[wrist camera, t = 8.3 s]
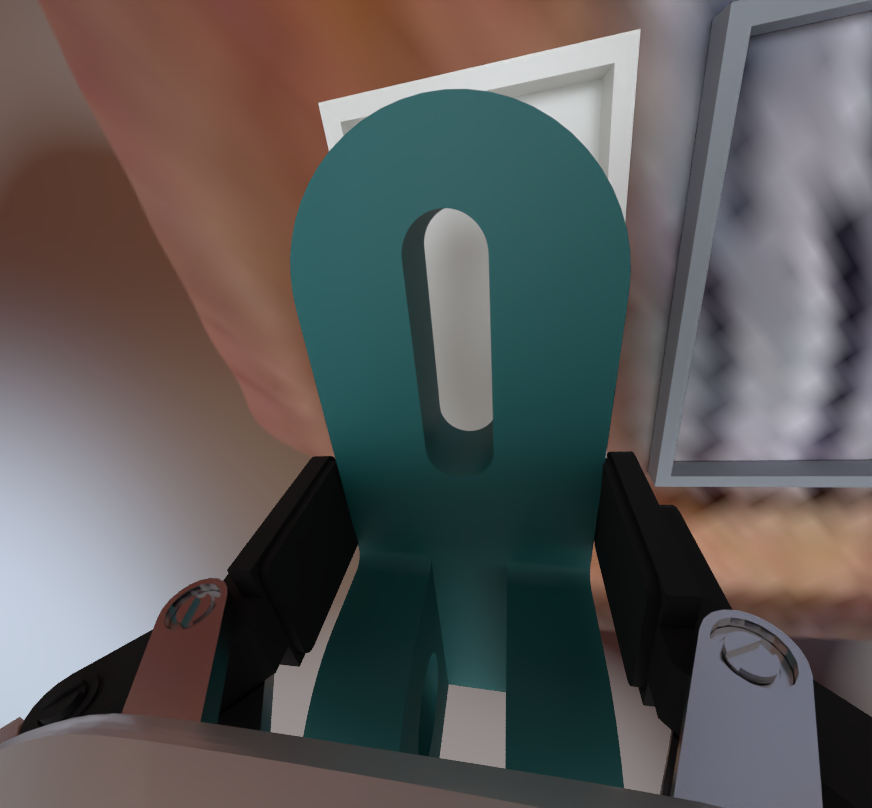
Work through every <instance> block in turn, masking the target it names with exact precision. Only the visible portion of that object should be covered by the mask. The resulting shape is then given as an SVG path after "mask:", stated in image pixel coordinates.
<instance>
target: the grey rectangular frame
mask: <svg viewBox="0 0 872 808" xmlns="http://www.w3.org/2000/svg"><path fill="white" fill-rule="evenodd" d="M870 10H872V0H741V1H736V2H732V3H730V4H729V5H728V6H727V7H726V8H725V9H724V10H722V11H721V12H720V13H719V14H718V15H717V16H716V17H714V18H713V21H712V28H711V35H710V42H709V48H708V55H707V62H706V69H705V76H704V83H703V90H702V97H701V104H700V111H699V118H698V125H697V132H696V139H695V146H694V153H693V160H692V167H691V174H690V181H689V188H688V195H687V202H686V209H685V215H684V222H683V229H682V236H681V243H680V250H679V257H678V264H677V271H676V278H675V285H674V292H673V299H672V306H671V313H670V320H669V327H668V334H667V341H666V348H665V355H664V362H663V369H662V376H661V382H660V389H659V396H658V403H657V410H656V417H655V424H654V431H653V438H652V445H651V452H650V459H649V466H648V473H649V475H650V477H651V479H652V481H653V483H654V485H655V487H872V460H820V461H705V462H673V461H674V456H675V450H676V445H677V439H678V433H679V428H680V422H681V417H682V411H683V406H684V400H685V394H686V389H687V383H688V378H689V372H690V367H691V361H692V355H693V350H694V344H695V339H696V333H697V328H698V322H699V316H700V311H701V305H702V300H703V294H704V289H705V283H706V277H707V272H708V266H709V261H710V255H711V249H712V244H713V238H714V233H715V227H716V222H717V216H718V210H719V205H720V199H721V194H722V188H723V183H724V177H725V171H726V166H727V160H728V155H729V149H730V144H731V138H732V132H733V127H734V121H735V116H736V110H737V105H738V99H739V93H740V88H741V82H742V77H743V71H744V66H745V60H746V54H747V49H748V43H749V38H750V36H754V35H759V34H763V33H768V32H773V31H777V30H782V29H787V28H791V27H796V26H801V25H805V24H810V23H815V22H819V21H824V20H829V19H833V18H838V17H842V16H847V15H852V14H856V13H861V12H866V11H870Z"/></svg>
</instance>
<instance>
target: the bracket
mask: <svg viewBox="0 0 872 808" xmlns="http://www.w3.org/2000/svg"><path fill="white" fill-rule="evenodd" d="M444 208H450V209H455V210H458V211H461V212H463V213H465V214H467V215H468V216H469V217H471V218H472V219H473V220H474V221H475V222H476V223H477V224H478V225H479V227H480V228H481V230H482V232H483V233H484V236H485V238H486V241H487V245H488V253H489V289H490V328H491V366H492V405H493V420H492V421H491V422H490V423H489V424H488V425H487V426H486V427H484V428H482V429H479V430H474V431H465V430H461V429H458V428H455V427H454V426H452V425H451V424H449V423H448V422H447V421H446V420H445V418H444V417H443V415H442V413H441V410H440V401H439V391H438V381H437V371H436V361H435V351H434V341H433V330H432V320H431V310H430V300H429V290H428V280H427V270H426V260H425V249H424V237H425V232H426V229H427V227H428V225H429V223H430V221H431V220H432V218H433V217H434V216H435V215H436V214H437V213H438V212H439V211H441V210H442V209H444ZM290 264H291V282H292V291H293V296H294V301H295V306H296V310H297V314H298V318H299V322H300V326H301V329H302V333H303V337H304V341H305V345H306V348H307V352H308V356H309V360H310V364H311V367H312V371H313V375H314V379H315V383H316V386H317V390H318V394H319V398H320V402H321V405H322V409H323V413H324V417H325V421H326V424H327V428H328V432H329V436H330V440H331V443H332V447H333V451H334V455H335V459H336V462H337V466H338V470H339V474H340V478H341V481H342V485H343V489H344V493H345V497H346V501H347V504H348V508H349V512H350V516H351V520H352V523H353V527H354V530H355V533H356V536H357V539H358V542H359V543H358V546H359V550H360V560H359V566H358V569H357V572H356V574H355V576H354V579H353V581H352V584H351V586H350V589H349V591H348V594H347V596H346V599H345V601H344V604H343V606H342V608H341V611H340V613H339V616H338V618H337V620H336V623H335V625H334V628H333V630H332V633H331V636H330V638H329V641H328V643H327V646H326V650H325V652H324V655H323V658H322V662H321V665H320V668H319V671H318V675H317V678H316V682H315V686H314V690H313V693H312V697H311V702H310V706H309V711H308V715H307V720H306V725H305V730H304V736H303V737H305V738H312V739H318V740H325V741H331V742H338V743H344V744H351V745H357V746H364V747H370V748H377V749H383V750H390V751H396V752H402V753H409V754H415V755H422V756H428V757H435V758H439V756H440V748H441V741H442V733H443V725H444V717H445V708H446V701H447V692H448V685H449V684H452V685H459V686H465V687H473V688H480V689H487V690H494V691H501V692H506V769H510V770H516V771H522V772H529V773H535V774H541V775H547V776H554V777H560V778H566V779H572V780H578V781H585V782H591V783H597V784H603V785H608V786H614V787H619V788H624V784H623V775H622V765H621V757H620V748H619V740H618V734H617V726H616V718H615V712H614V705H613V699H612V693H611V687H610V681H609V676H608V670H607V665H606V660H605V656H604V650H603V645H602V641H601V636H600V631H599V626H598V621H597V616H596V611H595V606H594V601H593V596H592V591H591V585H590V564H591V557H592V550H593V543H594V536H595V529H596V522H597V515H598V508H599V501H600V494H601V484H602V471H603V463H605V458H606V451H607V444H608V437H609V430H610V423H611V416H612V409H613V402H614V395H615V388H616V381H617V373H618V366H619V359H620V352H621V345H622V338H623V331H624V324H625V317H626V310H627V303H628V296H629V286H630V274H631V265H630V247H629V240H628V233H627V228H626V224H625V221H624V217H623V213H622V210H621V207H620V204H619V202H618V199H617V197H616V194H615V192H614V189H613V187H612V185H611V184H610V182H609V180H608V178H607V176H606V175H605V173H604V171H603V169H602V168H601V166H600V165H599V164H598V162H597V161H596V160H595V158H594V157H593V156H592V154H591V153H590V151H589V150H588V149H587V148H586V147H585V146H584V145H583V144H582V143H581V142H580V141H579V140H578V139H577V138H576V137H575V135H574V134H573V133H572V132H570V131H569V130H568V129H567V128H565V127H564V126H563V125H561V124H560V123H559V122H558V121H556V120H555V119H554V118H552V117H551V116H549V115H547V114H545V113H544V112H542V111H540V110H539V109H537V108H535V107H534V106H531V105H529V104H527V103H524V102H522V101H519V100H517V99H515V98H512V97H508V96H505V95H501V94H497V93H493V92H489V91H481V90H473V89H443V90H436V91H430V92H424V93H420V94H416V95H413V96H410V97H406V98H403V99H400V100H398V101H396V102H394V103H391V104H389V105H387V106H385V107H383V108H380V109H379V110H377V111H376V112H374V113H372V114H371V115H369V116H368V117H366V118H365V119H363V120H362V121H360V122H359V123H358V124H357V125H355V126H354V127H353V128H352V129H351V130H349V131H348V132H347V133H346V134H345V135H344V136H343V137H342V138H341V139H340V140H339V141H338V142H337V143H336V144H335V145H334V146H333V148H332V149H331V150H330V151H329V153H328V154H327V155H326V157H325V158H324V159H323V161H322V162H321V163H320V165H319V166H318V168H317V170H316V172H315V173H314V175H313V177H312V179H311V180H310V182H309V184H308V186H307V189H306V191H305V193H304V196H303V198H302V200H301V203H300V207H299V210H298V213H297V217H296V220H295V225H294V230H293V236H292V244H291V256H290Z"/></svg>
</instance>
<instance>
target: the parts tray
mask: <svg viewBox="0 0 872 808" xmlns="http://www.w3.org/2000/svg"><path fill="white" fill-rule="evenodd" d="M640 30H641V29H637V30H633V31H629V32H624V33H620V34H616V35H611V36H607V37H603V38H598V39H594V40H590V41H585V42H581V43H577V44H572V45H568V46H564V47H559V48H555V49H550V50H546V51H542V52H537V53H533V54H529V55H524V56H520V57H516V58H511V59H507V60H503V61H498V62H494V63H490V64H485V65H481V66H477V67H472V68H468V69H464V70H459V71H455V72H451V73H446V74H442V75H438V76H433V77H429V78H425V79H420V80H416V81H412V82H407V83H403V84H398V85H394V86H390V87H385V88H381V89H377V90H372V91H368V92H364V93H359V94H355V95H351V96H346V97H342V98H338V99H333V100H329V101H325V102H320V103H318V104H319V108H320V113H321V117H322V122H323V126H324V130H325V135H326V139H327V144H328V148H329V151H330V150H331V149H332V148H333V146H334V145H335V144H336V143H337V142H338V141H339V140H340V139H341V138H342V137H343V136H344V135H345V134H346V133H347V132H348V131H349V130H351V129H352V128H353V127H354V126H355V125H357V124H358V123H359V122H360V121H362V120H363V119H365V118H366V117H368V116H369V115H371V114H372V113H374V112H376V111H377V110H379V109H380V108H383V107H385V106H387V105H389V104H391V103H394V102H396V101H398V100H400V99H403V98H406V97H410V96H413V95H416V94H420V93H424V92H430V91H436V90H443V89H473V90H481V91H489V92H493V93H497V94H501V95H505V96H508V97H512V98H515V99H517V100H519V101H522V102H524V103H527V104H529V105H531V106H534V107H535V108H537V109H539V110H540V111H542V112H544V113H545V114H547V115H549V116H551V117H552V118H554V119H555V120H556V121H558V122H559V123H560V124H561V125H563V126H564V127H565V128H567V129H568V130H569V131H570V132H572V133H573V134H574V135H575V137H576V138H577V139H578V140H579V141H580V142H581V143H582V144H583V145H584V146H585V147H586V148H587V149H588V150H589V151H590V153H591V154H592V156H593V157H594V158H595V160H596V161H597V162H598V164H599V165H600V166H601V168H602V169H603V171H604V173H605V175H606V176H607V178H608V180H609V182H610V184H611V185H612V187H613V189H614V192H615V194H616V197H617V199H618V202H619V204H620V207H621V210H622V213H623V217H624V221H625V217H626V205H627V192H628V180H629V167H630V155H631V142H632V130H633V117H634V105H635V92H636V80H637V67H638V55H639V43H640ZM424 249H425V260H426V270H427V280H428V290H429V300H430V310H431V320H432V330H433V341H434V351H435V361H436V371H437V381H438V391H439V401H440V410H441V413H442V415H443V417H444V418H445V420H446V421H447V422H448V423H449V424H451V425H452V426H454V427H455V428H458V429H461V430H465V431H474V430H479V429H482V428H484V427H486V426H487V425H488V424H489V423H490V422H491V421H492V420H493V405H492V366H491V328H490V289H489V253H488V245H487V241H486V238H485V236H484V233H483V232H482V230H481V228H480V227H479V225H478V224H477V223H476V222H475V221H474V220H473V219H472V218H471V217H469V216H468V215H467V214H465V213H463V212H461V211H458V210H455V209H450V208H444V209H442V210H441V211H439V212H438V213H437V214H436V215H435V216H434V217H433V218H432V220H431V221H430V223H429V225H428V227H427V229H426V232H425V237H424ZM606 454H607V451H606Z"/></svg>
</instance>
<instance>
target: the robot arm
mask: <svg viewBox="0 0 872 808" xmlns="http://www.w3.org/2000/svg"><path fill="white" fill-rule="evenodd" d="M358 543H359V542H358V539H357V536H356V533H355V530H354V527H353V523H352V520H351V516H350V512H349V508H348V504H347V501H346V497H345V493H344V489H343V485H342V481H341V478H340V474H339V470H338V466H337V462H336V460H335V458H334V457H332V456H315V457H312V458H311V459H310V461H309V462H308V463H307V465H306V466H305V467H304V469H303V470H302V471H301V473H300V474H299V476H298V477H297V478H296V479H295V481H294V482H293V483H292V484H291V486H290V487H289V488H288V490H287V491H286V492H285V494H284V495H283V496H282V498H281V499H280V500H279V502H278V503H277V505H276V506H275V507H274V508H273V510H272V511H271V512H270V514H269V515H268V516H267V518H266V519H265V521H264V522H263V523H262V525H261V526H260V527H259V528H258V530H257V531H256V532H255V534H254V535H253V536H252V538H251V539H250V540H249V542H248V543H247V544H246V546H245V547H244V548H243V550H242V551H241V552H240V554H239V555H238V556H237V558H236V559H235V561H234V562H233V563H232V564H231V566H230V567H229V568H228V570H227V571H228V573H229V574H228V575H227V576H226V578H225V579H224V580H223V581H222V580H220V579H218V578H208V579H203V580H199V581H197V582H195V583H192V584H190V585H189V586H187V587H185V588H184V589H182V590H181V591H179V592H178V593H177V594H176V595H175V596H173V597H172V598H171V599H170V600H169V601H168V603H167V604H166V605H165V606H164V607H163V609H162V610H161V612H160V614H159V616H158V618H157V621H156V623H155V626H154V629H153V630H151V631H149V632H148V633H146V634H144V635H142V636H140V637H139V638H137V639H135V640H133V641H131V642H129V643H128V644H126V645H124V646H122V647H120V648H119V649H117V650H115V651H113V652H112V653H110V654H108V655H106V656H104V657H102V658H101V659H99V660H97V661H95V662H93V663H92V664H90V665H88V666H86V667H84V668H83V669H81V670H79V671H77V672H76V673H74V674H72V675H70V676H69V677H67V678H66V679H64V680H63V681H61V682H60V683H58V684H57V685H56V686H54V687H53V688H52V689H51V690H50V691H49V692H47V693H46V694H45V695H44V696H43V697H42V698H41V699H40V700H39V702H38V703H37V704H36V705H35V706H34V707H33V708H32V710H31V711H30V713H29V714H28V715H27V717H26V718H25V720H23V719H22V718H20V717H19V718H17V719H16V720H14V721H12V722H11V723H9V724H7V725H6V726H4V727H3V728H1V729H0V808H872V717H871V716H869V715H867V714H866V713H864V712H863V711H861V710H860V709H858V708H856V707H855V706H853V705H852V704H850V703H849V702H847V701H846V700H844V699H842V698H841V697H839V696H838V695H836V694H835V693H833V692H832V691H830V690H829V689H827V688H825V687H824V686H822V685H821V684H819V683H818V682H816V681H814V680H813V677H812V673H811V670H810V666H809V663H808V661H807V659H806V658H805V656H804V655H803V653H802V652H801V650H800V648H799V647H798V646H797V645H796V644H795V643H794V642H793V641H792V640H791V639H790V638H789V637H788V636H787V635H786V634H785V633H783V632H782V631H780V630H779V629H778V628H776V627H775V626H774V625H772V624H771V623H769V622H767V621H765V620H763V619H761V618H759V617H757V616H755V615H752V614H749V613H745V612H742V611H738V610H732V608H731V606H730V605H729V603H728V601H727V599H726V597H725V595H724V593H723V591H722V590H721V588H720V586H719V584H718V582H717V580H716V578H715V577H714V575H713V573H712V571H711V569H710V567H709V565H708V564H707V562H706V560H705V558H704V556H703V554H702V552H701V551H700V549H699V547H698V545H697V543H696V541H695V539H694V538H693V536H692V534H691V532H690V530H689V528H688V526H687V524H686V523H685V521H684V519H683V517H682V515H681V513H680V512H679V510H678V509H677V507H675V506H674V505H659V504H658V502H657V500H656V498H655V495H654V493H653V491H652V489H651V487H650V485H649V483H648V481H647V479H646V477H645V475H644V473H643V471H642V469H641V466H640V464H639V462H638V460H637V458H636V456H635V454H634V453H633V452H632V451H631V452H608V454H607V458H605V463H603V471H602V484H601V494H600V501H599V508H598V515H597V522H596V529H595V536H594V543H595V548H596V553H597V557H598V561H599V565H600V569H601V573H602V577H603V581H604V586H605V590H606V594H607V598H608V602H609V606H610V610H611V614H612V618H613V623H614V627H615V631H616V635H617V639H618V643H619V647H620V651H621V655H622V660H623V664H624V668H625V672H626V676H627V680H628V683H629V685H630V686H634V687H639V691H640V695H641V699H642V702H643V705H646V706H655V708H656V712H657V715H658V718H659V719H660V720H661V721H662V722H663V723H664V724H666V725H667V726H668V727H669V728H670V729H671V734H670V740H669V745H668V751H667V757H666V763H665V769H664V775H663V780H662V785H661V791H660V795H658V794H653V793H647V792H642V791H636V790H630V789H625V788H619V787H614V786H608V785H603V784H597V783H591V782H585V781H578V780H572V779H566V778H560V777H554V776H547V775H541V774H535V773H529V772H522V771H516V770H510V769H504V768H497V767H491V766H485V765H479V764H473V763H466V762H460V761H453V760H447V759H441V758H435V757H428V756H422V755H415V754H409V753H402V752H396V751H390V750H383V749H377V748H370V747H364V746H357V745H351V744H344V743H338V742H331V741H325V740H318V739H312V738H305V737H299V736H291V735H285V734H278V733H272V732H270V730H271V715H272V700H273V685H274V673H276V670H277V669H278V667H279V665H280V664H281V665H290V666H300V665H301V662H302V660H303V658H304V656H305V653H308V652H310V651H311V650H312V648H313V646H314V645H315V642H316V640H317V638H318V635H319V633H320V631H321V628H322V626H323V624H324V621H325V619H326V617H327V615H328V612H329V610H330V608H331V605H332V603H333V600H334V598H335V596H336V594H337V591H338V589H339V586H340V584H341V582H342V580H343V577H344V575H345V573H346V571H347V568H348V566H349V564H350V561H351V559H352V557H353V554H354V552H355V550H356V547H357V545H358Z"/></svg>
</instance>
